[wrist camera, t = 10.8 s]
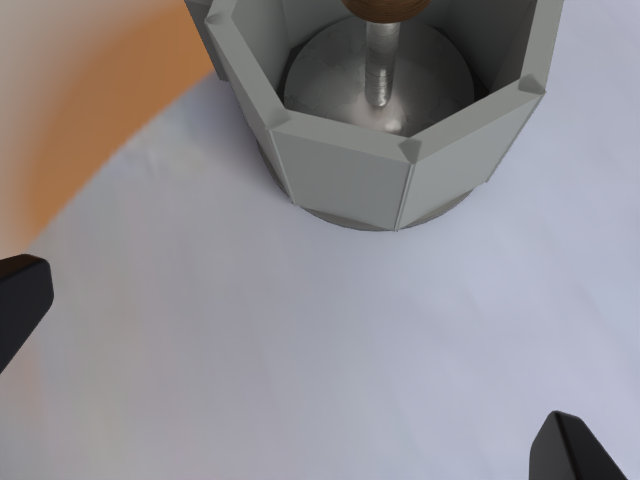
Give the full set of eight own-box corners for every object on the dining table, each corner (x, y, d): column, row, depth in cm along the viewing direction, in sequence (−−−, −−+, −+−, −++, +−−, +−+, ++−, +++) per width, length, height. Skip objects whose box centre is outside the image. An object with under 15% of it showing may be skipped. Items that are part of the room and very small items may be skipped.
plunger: (447, 208, 22) (523, 66, 12) (261, 161, 23) (191, -3, 13) (488, 42, 24) (582, -198, 14) (315, 6, 25) (288, -239, 15)
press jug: (470, 260, 23) (529, 198, 15) (196, 188, 25) (123, 100, 17) (521, 38, 26) (593, -111, 18) (271, -13, 27) (237, -168, 20)
